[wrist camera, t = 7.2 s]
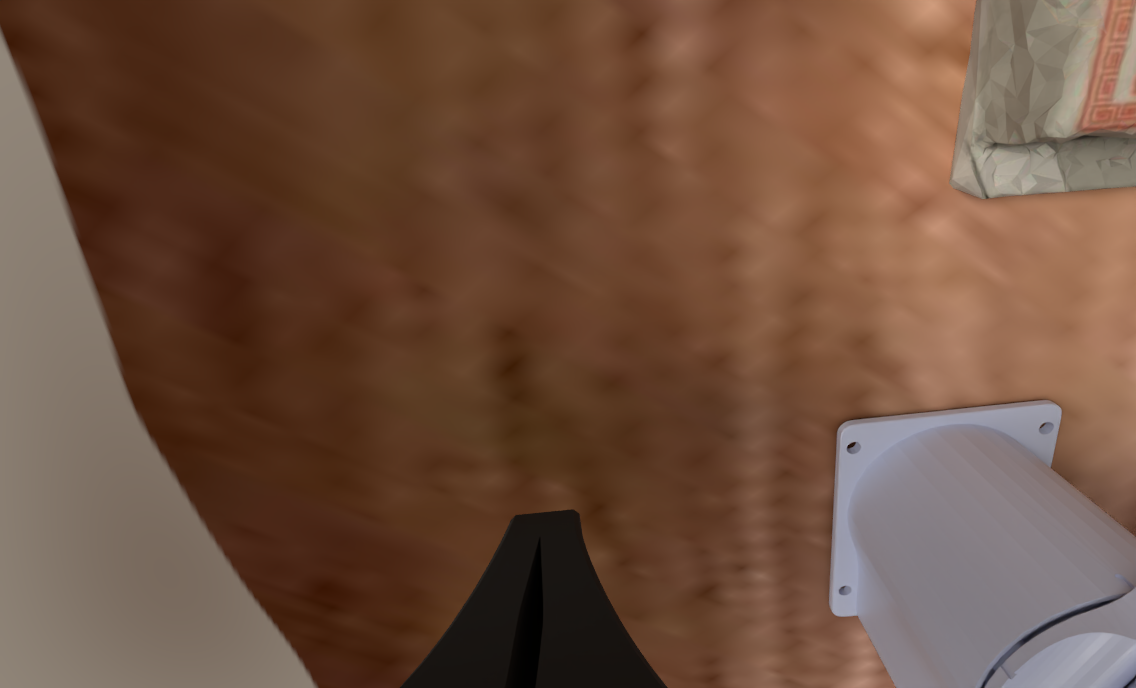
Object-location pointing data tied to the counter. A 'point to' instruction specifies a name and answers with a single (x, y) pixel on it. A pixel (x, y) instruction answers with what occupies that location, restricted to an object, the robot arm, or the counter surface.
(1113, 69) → the packaged product
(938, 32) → the counter surface
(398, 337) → the counter surface
